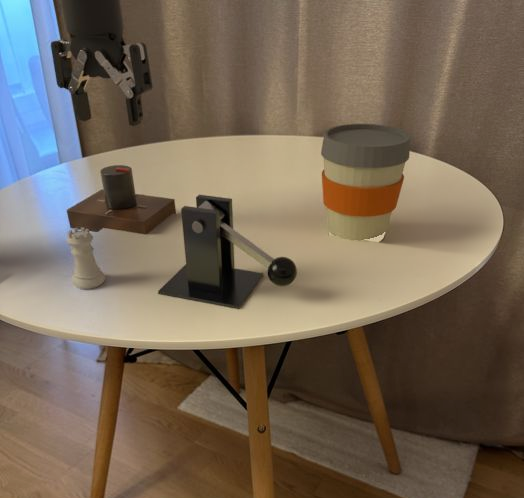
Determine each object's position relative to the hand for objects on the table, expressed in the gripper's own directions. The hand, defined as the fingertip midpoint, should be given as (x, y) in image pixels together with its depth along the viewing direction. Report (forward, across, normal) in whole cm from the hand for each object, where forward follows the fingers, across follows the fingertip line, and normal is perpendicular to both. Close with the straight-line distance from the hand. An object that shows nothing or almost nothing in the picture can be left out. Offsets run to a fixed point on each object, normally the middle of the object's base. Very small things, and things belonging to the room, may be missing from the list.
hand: (110, 122), depth 81 cm
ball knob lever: (+10, -27, +16) cm, 32 cm away
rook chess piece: (+16, -7, +21) cm, 27 cm away
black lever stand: (+16, -23, +16) cm, 32 cm away
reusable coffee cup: (+16, -36, -8) cm, 41 cm away
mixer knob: (+13, 0, 0) cm, 13 cm away
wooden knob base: (+16, 0, 0) cm, 16 cm away
